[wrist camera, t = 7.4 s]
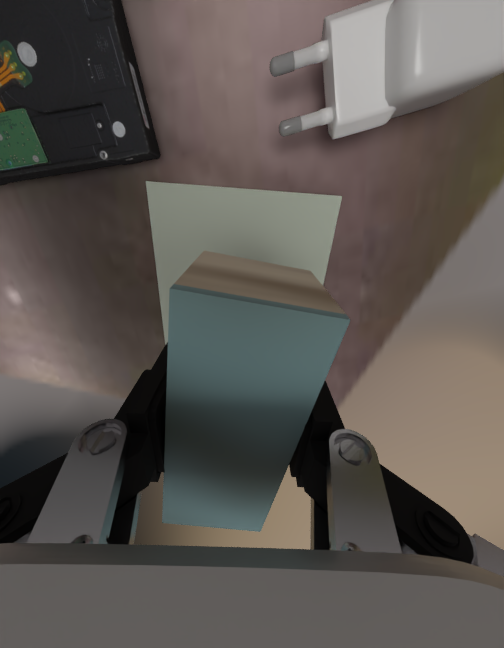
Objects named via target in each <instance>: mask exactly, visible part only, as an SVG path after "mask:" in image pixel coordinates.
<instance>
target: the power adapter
mask: <svg viewBox="0 0 504 648" xmlns="http://www.w3.org/2000/svg"><path fill="white" fill-rule="evenodd" d="M320 62H322V65H323V78H324V91H325V104H326V108H323V109H320V110H319V111H316V112H313V113H310V114H306V115H303V116H297V117H294V118H291V119H287V120H284V121H282V122H281V123H280V125H279V133H280V135H281V136H283V137H285V136H288V135H292V134H295V133H298V132H301V131H303V130H306V129H309V128H313V127H316V126H322V125H326V124H328V133H329V135H330V136H331V138H332V139H337V138H341V137H345V136H348V135H352V134H355V133H359V132H362V131H366V130H369V129H372V128H376V127H379V126H382V125H384V124H386V123H387V122H388V121H389V119H391V118H394V117H398V116H401V115H405V114H408V113H411V112H415V111H418V110H421V109H425V108H428V107H431V106H434V105H437V104H440V103H442V102H445V101H447V100H449V99H451V98H453V97H455V96H458V95H460V94H462V93H464V92H466V91H468V90H470V89H472V88H474V87H476V86H478V85H480V84H482V83H484V82H486V81H488V80H489V79H491V78H493V77H495V76H497V75H499V74H501V73H502V72H504V0H372V1H369V2H366V3H363V4H360V5H358V6H355V7H352V8H349V9H346V10H343V11H340V12H337V13H334V14H331V15H328V16H326V17H325V19H324V23H323V31H322V40H321V42H318V43H315V44H313V45H312V46H309V47H306V48H303V49H300V50H297V51H294V52H293V51H291V52H288V53H285V54H282V55H279V56H276V57H273V58H272V59H271V61H270V72H271V74H272V76H274V77H277V76H280V75H283V74H286V73H289V72H292V71H294V70H295V69H299V68H302V67H305V66H308V65H311V64H317V63H320Z"/></svg>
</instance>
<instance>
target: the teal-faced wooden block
mask: <svg viewBox="0 0 504 648" xmlns="http://www.w3.org/2000/svg"><path fill="white" fill-rule="evenodd" d="M349 322H350V319H349V318H348V316H347V315H346V314H345V313H344V311H343V310H342V309H341V308H340V307H339V305H338V304H337V303H336V302H335V300H334V299H333V298H332V297H331V295H330V294H329V293H328V292H327V290H326V289H325V288H324V287H323V286H322V284H321V283H320V282H319V281H318V279H317V278H316V277H315V276H314V274H313V273H312V272H311V271H309V270H304V269H298V268H293V267H288V266H283V265H278V264H272V263H267V262H262V261H257V260H251V259H246V258H241V257H236V256H230V255H225V254H220V253H215V252H209V251H203V252H202V253H201V254H200V255H199V257H198V258H197V259H196V260H195V261H194V262H193V263H192V264H191V265H190V266H189V268H188V269H187V270H186V271H185V272H184V273H183V274H182V275H181V276H180V277H179V279H178V280H177V281H176V282H175V283H174V284H173V285H172V286H171V287H170V290H169V323H168V355H167V388H166V420H165V453H164V471H165V472H164V485H163V519H162V523H171V524H181V525H192V526H204V527H214V528H226V529H236V530H248V531H259V532H260V531H261V529H262V526H263V524H264V522H265V519H266V517H267V515H268V512H269V510H270V508H271V505H272V503H273V501H274V498H275V496H276V493H277V491H278V489H279V486H280V484H281V482H282V480H283V477H284V475H285V472H286V470H287V468H288V465H289V463H290V461H291V458H292V456H293V454H294V451H295V449H296V447H297V444H298V442H299V440H300V437H301V435H302V433H303V430H304V427H305V425H306V423H307V421H308V418H309V416H310V414H311V411H312V409H313V407H314V404H315V402H316V400H317V397H318V395H319V393H320V390H321V388H322V386H323V383H324V381H325V379H326V376H327V374H328V372H329V369H330V367H331V364H332V362H333V360H334V357H335V355H336V353H337V350H338V348H339V346H340V343H341V341H342V339H343V336H344V334H345V332H346V329H347V327H348V325H349Z"/></svg>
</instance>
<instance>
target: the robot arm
mask: <svg viewBox="0 0 504 648" xmlns="http://www.w3.org/2000/svg"><path fill="white" fill-rule="evenodd" d="M167 355H168V342H167V343H166V345H165V347H164V349H163V350H162V352H161V354H160V355H159V357H158V359H157V361H156V362H155V364H154V366H153V367H152V369H151V370H145V371H144V372H143V373H142V375H141V376H140V378H139V380H138V381H137V383H136V384H135V386H134V388H133V389H132V391H131V392H130V394H129V396H128V397H127V399H126V400H125V402H124V404H123V405H122V407H121V408H120V410H119V412H118V413H117V415H116V416H115V418H114V419H105V420H101V421H98V422H95V423H93V424H91V425H89V426H88V427H86V428H85V429H84V430H83V431H82V432H80V433H79V434H78V436H77V437H76V439H75V440H74V442H73V444H72V446H71V448H70V450H69V452H68V453H67V454H65V455H63V456H61V457H59V458H57V459H55V460H53V461H51V462H50V463H48V464H46V465H44V466H42V467H40V468H38V469H36V470H35V471H33V472H31V473H29V474H27V475H25V476H23V477H21V478H19V479H17V480H15V481H14V482H12V483H10V484H8V485H6V486H4V487H2V488H0V648H504V550H502V549H500V548H499V547H497V546H495V545H494V544H492V543H490V542H488V541H487V540H485V539H483V538H481V537H480V536H478V535H477V534H474V535H473V536H470V535H469V534H467V533H466V532H465V530H464V528H463V527H462V526H461V524H460V523H459V522H458V521H457V520H456V519H455V518H454V517H453V516H452V515H451V514H450V513H449V512H447V511H446V510H445V509H443V508H442V507H441V506H439V505H438V504H436V503H435V502H434V501H432V500H431V499H429V498H428V497H426V496H425V495H423V494H422V493H421V492H419V491H418V490H416V489H415V488H413V487H412V486H411V485H409V484H408V483H406V482H405V481H404V480H402V479H401V478H399V477H398V476H396V475H395V474H394V473H392V472H391V471H389V470H388V469H386V468H385V467H384V466H382V465H381V464H379V460H378V456H377V453H376V451H375V448H374V447H373V445H371V443H370V441H369V440H367V439H366V438H365V437H364V436H363V435H361V434H359V433H357V432H355V431H352V430H349V429H345V428H344V425H343V423H342V420H341V418H340V415H339V413H338V410H337V408H336V405H335V403H334V401H333V398H332V396H331V393H330V391H329V388H328V386H327V383H326V381H324V383H323V386H322V388H321V390H320V393H319V395H318V397H317V400H316V402H315V404H314V407H313V409H312V411H311V414H310V416H309V418H308V421H307V423H306V425H305V427H304V430H303V433H302V435H301V437H300V440H299V442H298V444H297V447H296V449H295V451H294V454H293V456H292V458H291V461H290V463H289V465H290V472H291V476H292V477H296V480H297V487H304V490H305V492H306V493H307V494H308V495H309V496H310V497H311V549H310V550H306V549H305V550H304V549H276V548H241V547H204V546H167V545H134V538H135V532H136V525H137V519H138V512H139V506H140V500H141V493H142V490H143V489H145V488H146V487H147V486H148V485H149V483H150V482H158V480H159V477H160V474H161V472H165V471H164V453H165V420H166V388H167Z"/></svg>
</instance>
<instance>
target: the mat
mask: <svg viewBox="0 0 504 648" xmlns="http://www.w3.org/2000/svg"><path fill="white" fill-rule="evenodd" d="M146 188H147V196H148V205H149V213H150V221H151V229H152V238H153V246H154V254H155V263H156V271H157V279H158V288H159V296H160V304H161V313H162V321H163V329H164V338H165V345H166V343H167V342H168V323H169V290H170V287H171V286H172V285H173V284H174V283H175V282H176V281H177V280H178V279H179V277H180V276H181V275H182V274H183V273H184V272H185V271H186V270H187V269H188V268H189V266H190V265H191V264H192V263H193V262H194V261H195V260H196V259H197V258H198V257H199V255H200V254H201V253H202V252H203V251H209V252H215V253H220V254H225V255H230V256H236V257H241V258H246V259H251V260H257V261H262V262H267V263H272V264H278V265H283V266H288V267H293V268H298V269H304V270H309V271H311V272H312V273H313V274H314V276H315V277H316V278H317V279H318V281H319V282H320V283H321V284H322V286H323V284H324V279H325V274H326V270H327V265H328V260H329V256H330V251H331V246H332V241H333V237H334V232H335V227H336V223H337V218H338V213H339V209H340V204H341V199H342V196H333V195H320V194H307V193H294V192H281V191H268V190H255V189H242V188H229V187H216V186H203V185H190V184H176V183H163V182H150V181H146Z"/></svg>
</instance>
